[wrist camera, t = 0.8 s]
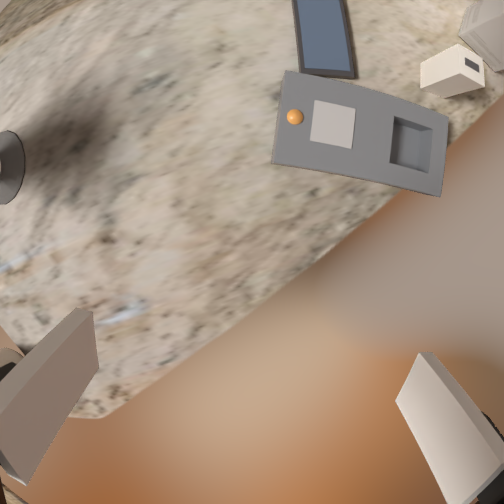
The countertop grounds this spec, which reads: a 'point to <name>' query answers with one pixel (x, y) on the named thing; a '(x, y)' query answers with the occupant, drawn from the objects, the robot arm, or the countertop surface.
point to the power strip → (359, 134)
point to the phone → (322, 38)
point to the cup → (10, 166)
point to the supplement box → (485, 31)
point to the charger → (452, 72)
